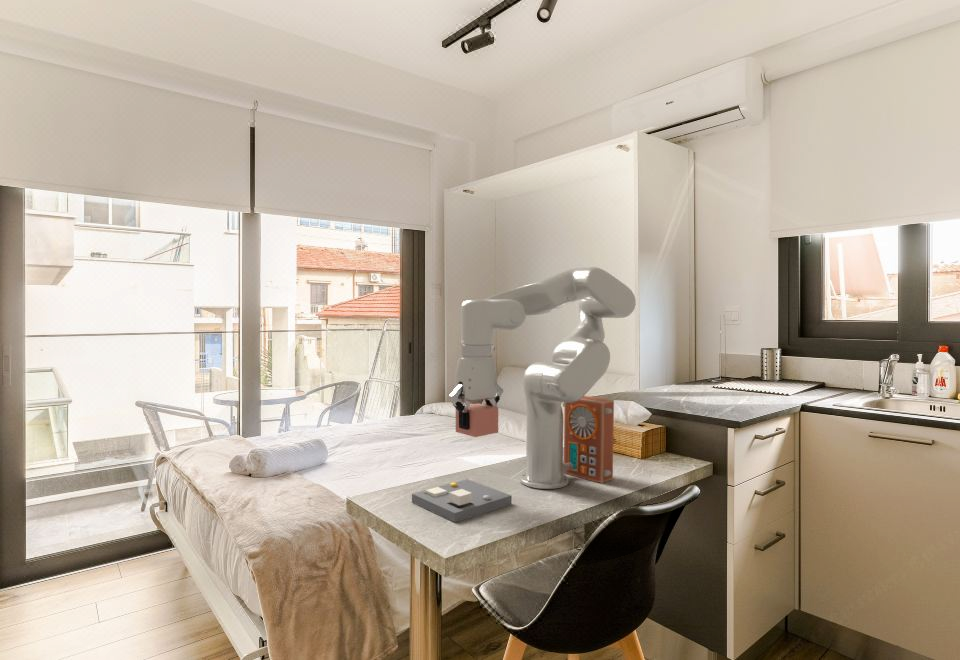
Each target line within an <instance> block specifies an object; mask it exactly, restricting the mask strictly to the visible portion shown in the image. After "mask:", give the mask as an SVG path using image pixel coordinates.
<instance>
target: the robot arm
mask: <svg viewBox="0 0 960 660" xmlns="http://www.w3.org/2000/svg"><path fill="white" fill-rule="evenodd" d="M576 301H578V313H579V314H578V317H579V318H578V322H577V325H576V326H575V327H574V328H573V329H572V330H571V331H570V332H569V334H567V335H566V336H565V337H564V338H563V339H562V340H561V341H560V342H559V343H558V344H557V346H556V347H555V348H554V349H553V350H552V354H551V361H537V362H533V363H532V364H530V365H529V366H528V367H527V368H526V369H525V371H524V374H523V378H522V379H523V380H522V381H523V382H522V383H523V390H524V395H525V401H526V450H525V451H526V453H525V454H526V457H525V458H526V459H525V460H526V461H525V462H526V463H525V464H526V465H525V469H526V471H525V472H524V473H522V474H521V475H520V480H519V481H520V483H521V484H523V485H524V486H526V487H529V488H533V489H541V490H552V489H560V488H564V487H566V486H568V484H569V477H568V476H567V474H565V472H566V470H570V469H573V464H572V463H571V462H568V463H563V461H564V412H563V411H564V410H563V408H562V407H563V406H562V405H561V403H564V402H565V403H573V402H576V401H578V400H580V399H581V398H582V397H583V396H586V394H587V393H589V391H590V390H591V389H592V388H593V387H594V386H595V385H596V384H597V383H598V382H599V380H600V379H601V378H602V377H603V375H605V373H606V372H607V370H608V368H609V365H610V362H611V352H610V350H609V347H608V346H607V344H606V343H605V342H604V340H605V336H606V335H605V330H604V329H605V328H604V323H603V318H605V319H606V318H607V319H609V318H610V319H620V318H622V319H623V318H627V317H629V316H630V315H631V314H632V313H633V312H634V311H635V309H636V304H637V303H636V302H637V301H636V297H635V294H634V292H633V291H632V289H631V288H630V287H628V286H627V285H626V284H625V283H623V282H622V281H621V280H619V279H618V278H617V277H615V276H613V274H611V273H609V272H608V271H606V270H604V269H602V268H600V267H596V266H592V267H580V268H579V267H577V268H571V269H568V270H567V269H566V270H565V271H562V272H560V273H559V272H558V273H557V274H554V275H552V276H549V277H547V278H544V279H541V280H538V281H536V282H532V283H529V284H526V285H525V284H524V285H522V286H519V287H516V288H512V289H509V290H507V291H503V292H499V293H497V294H495V295H492V296H489V297H487V298H485V299H467V300H464V301H462V303H461V306H460V307H461V309H460V315H461V316H460V319H461V321H460V323H461V324H460V325H461V326H460V330H461V333H460V336H461V337H460V338H461V339H460V340H461V343H460V344H461V347H460V348H461V353H460V354H461V355H460V357H459V358H458V360H457V364H456V368H455V374H454V375H455V377H454V378H455V379H454V389H453V391H452V392H451V393H450V394H449V395H448V400H449V401H450V402H451V404H452V406H453V407H454V408H455V411H456V410H457V411H459V428H462V429H465V430H468V429H469V412H467V411H468V409H469V406H470V405H471V403H472V402H476V401H483V402H484V405H489V406H494V407H498V403H499V402H500V399H501V397H502V395H503V393H504V388H502V387H501V386H500V384H498V376H497V375H498V373H497V366H496V364H497V363H496V361H495V360H496V359H495V357H494V352H495V350H496V348H495V346H494V330H498V331H513V330H516V329H518V328H520V327H521V326H522V325H523V324H524V323H525V320H526V317H527V316H537V315H538V316H539V315H544V314H548V313H552V312H554V311H555V310H557V309H561V308H562V307H565V306H567V305H569V304H572V303H574V302H576Z"/></svg>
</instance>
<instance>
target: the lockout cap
mask: <svg viewBox="0 0 960 660" xmlns="http://www.w3.org/2000/svg"><path fill="white" fill-rule="evenodd" d="M467 412H469V429H468V430H465V429H462V428H459V411H457V410H456V409H455V433H458V434H463V435H466V436H468V437H469V436H470V437H472V438H478V437H484V436H488V435H493V434H497V433H499V407H498V406H497V407H494V406H489V405H486V404H485V403H484V404H482V403H474V404H473V403H472V404H471V403H470V406H469V409H468V411H467Z"/></svg>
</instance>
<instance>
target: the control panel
mask: <svg viewBox="0 0 960 660" xmlns="http://www.w3.org/2000/svg"><path fill="white" fill-rule="evenodd" d="M561 406H562V407H564V410H563V411H564V412H563V463H568V462H571V463H572V464H573V469H570V470H566V472H565V475H568V476H573V477H578V478H581V479H584V480H588V481H592V482H594V483H595V482H596V483H600V484H604V483H606V482H608V481H611V480H613V479H614V477H613V476H614V471H613V470H614V429H615V428H614V425H615V424H614V423H615V421H614V418H615V417H614V415H615V414H614V413H615V412H614V411H615V400H614V399H609V398H604V397H603V398H601V397H594V396H587V395H584V396H583V397H582V398H581V399H580V400H578V401H576V402H573V403H565V402H562V405H561Z"/></svg>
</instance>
